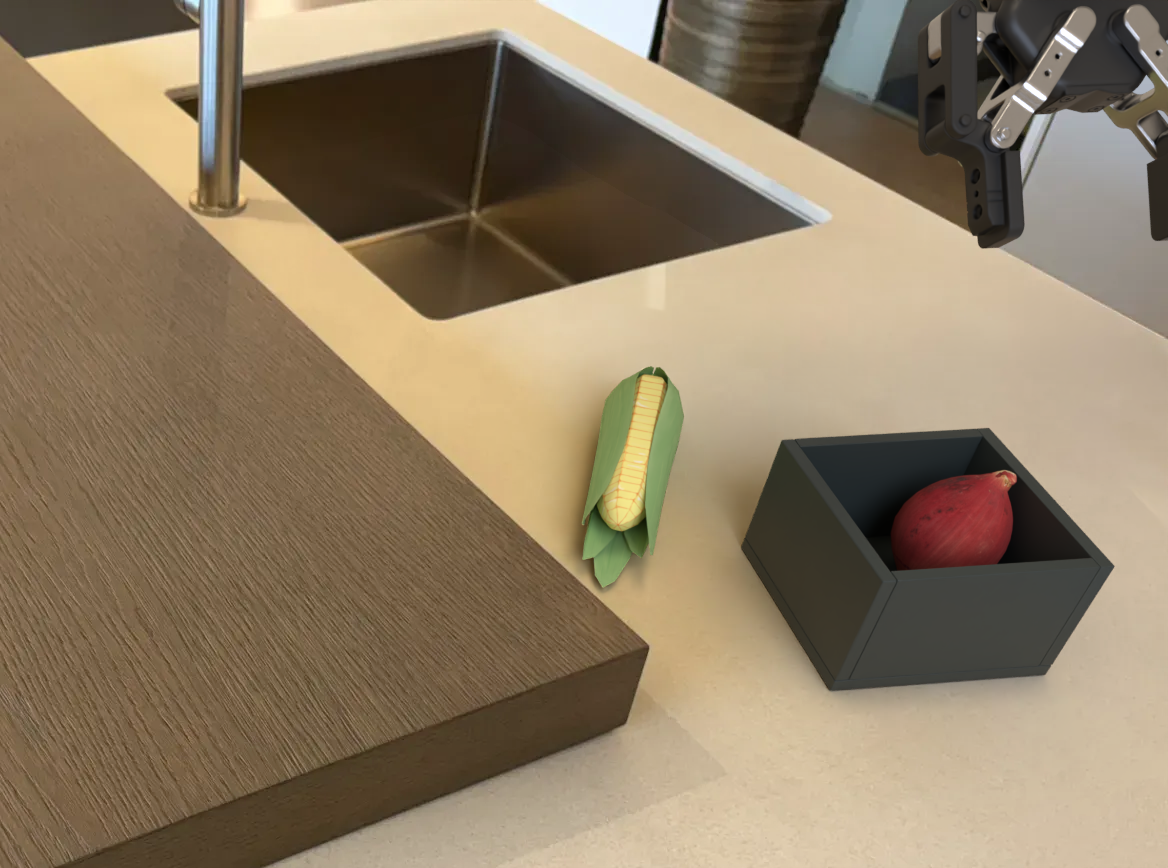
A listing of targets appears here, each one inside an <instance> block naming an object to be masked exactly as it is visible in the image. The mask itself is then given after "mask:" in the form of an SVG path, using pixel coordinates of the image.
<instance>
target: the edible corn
mask: <svg viewBox="0 0 1168 868" xmlns="http://www.w3.org/2000/svg"><path fill="white" fill-rule="evenodd" d="M684 419H685V415H684V410H683V404H682V399H681V394H680V390H679V389H678V388H677V387H676V385H675V384H674V383H673V382H672V380H671V379H670V377H669V376H668V374H667V373H666V371H665V370H664V369H663V368H662V367H660V366H656V367H653V365H650V366H647V367H645V368H642V369H641V370H639V371H638V372H635V373H633V374H632V375H630V376H628V377H626V378H624V379H622V380H621V381H620V382H619V383H618V384H617V385H616V386H615V387H614V388H613V390H612V391H610V393H609V395H608V396H607V397H606V399H605V401H604V406H603V409H602V414H601V419H600V427H599V432H598V433H599V434H598V440H597V446H596V451H595V457H594V462H593V466H592V472H591V478H590V481H589V487H588V492H587V496H586V502H585V506H584V511H583V516H582V519H581V525H582V526H585V524H586V519H587V517H588V516H589V517H588V521H587V525H586V531H585V536H584V541H583V550H582V558H581V559H582V561H584V560H585V561H586V560H588V559H592V558H593V567H594V576H595V577H596V579H597V581H598V582H599V584H600V585H601V587H602V588H605V587H607V586H609V585H611V584H612V583H614V582H616V581H617V579H618V578H619V576H620V575H621V573H622V572H623V570H624V569H625V567H626V566H627V564H628V563H629V561H630V559H631V557H632V555H633V554H635V555H636V556H638V557H639V558H641V559H642V558H643V557H644V555H645V552H646V550H647V548H648V547H649V555H650V556H654V554H655V553H654V552H655V548H656V542H657V536H658V531H659V526H660V520H661V514H662V509H663V505H664V501H665V497H666V492H667V487H668V484H669V478H670V475H671V472H672V469H673V468H672V467H673V464H674V460H675V457H676V455H677V450H678V447H679V442H680V438H681V434H682V429H683V424H684Z"/></svg>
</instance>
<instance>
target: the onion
mask: <svg viewBox="0 0 1168 868" xmlns="http://www.w3.org/2000/svg"><path fill="white" fill-rule="evenodd" d="M1016 482H1017V477H1016V474H1014V473H1012V472H1010V471H1007V470H1002V471H997V472H993V473H987V474H982V475H965V476H957V477H951V478H948V479H944V480H940V481H938V482H936V483H933V484H931V485H929V486H927V487H925V488H923V489H922V490H920V491H918V492H917V493H916V494H914V495H913V496H912V497H911V498H910V499H909V500H907V501H906V502H905V503H904V505H903V506H902V507H901V509H900V510H899V512H898V513H897V515H896V516H895V519H894V522H893V526H892V530H891V546H892V552H893V556H894V560H895V564H896V568H897V571H902V570H917V569H933V568H948V567H963V566H978V565H993V564H997V563H998V562H999V560H1000V559H1001V558H1002V556H1003V555H1004V553H1005V552H1006V549H1007V547H1008V544H1009V542H1010V538H1011V534H1012V527H1013V513H1012V507H1011V503H1010V500H1009V496H1008V490H1009V489H1010V488H1011V486H1012V485H1014V484H1015V483H1016Z"/></svg>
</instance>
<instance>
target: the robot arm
mask: <svg viewBox="0 0 1168 868" xmlns="http://www.w3.org/2000/svg"><path fill="white" fill-rule="evenodd" d="M978 3H979V5H980V6H981V8H982V10H983V11H978V9H977V7H976V4H975V3H974V2H973V1H972V0H955V1H954V2H952V3H951V4H950V5H949V6H948V7H947V8H945V9H944V10H942V12H941V13H939V14H938V15H937V16H936V17H934V18H933V19H932V20H931V21H930V22H928V23H926V25H924V26H923V27H922V28H921V29H920V30H919V32H918V34H917V126H918V127H917V129H918V130H917V132H918V133H917V139H918V140H917V141H918V148H919V150H920V152H921V153H922V154H923V155H924V156H926V157H936V156H938V155H939V154H940V155H943V156H946V157H949V158H952V159H954V160H956V161H957V164H958V165H959V166H960V167H961V168H963V171H964V183H965V184H964V185H965V200H966V212H967V214H966V215H967V227H968V229H969V231H970V233H971V235H972V237H977V245H978V247H979V248H980V249H984V250H985V249H999V248H1001V247H1003V246H1006V245H1007V244H1009V243H1011V242H1014V241H1015V240H1017V239H1019V238H1020V237H1021V236H1022V235H1023V233H1024V230H1025V209H1024V191H1023V177H1022V163H1021V162H1022V160H1021V159H1022V158H1021V150H1011V149H1010V148H1011V147H1012V146H1013V145H1014V144H1015V143H1016V141H1017V140H1018V138H1019V137H1020V135H1021V133H1022V132H1023V130H1024V129H1025V127H1026V125H1027V124H1028V122H1029V121H1030V119H1031V117H1032V116H1033V115H1034V116H1035V115H1037V116H1041V115H1052V114H1055V113H1058V112H1061V111H1064V110H1069V111H1073V112H1077V113H1081V114H1086V113H1091V114H1092V113H1099V112H1101V111H1103V112H1104V113H1105V114H1106V116H1107V117H1108V118H1109V120H1110V121H1111V122H1112V124H1114V126H1116V127H1117V128H1120V129H1126V130H1129V131H1130V132H1131V133H1132V134H1133V135H1134V136H1135V137H1136V139H1137V140H1138V141H1139V143H1140V144H1141V145H1142V146H1143V148H1144V149H1145V150H1146V151H1147V154H1149V156H1150V157H1151V158H1152V159H1153V160H1151V161H1150V162H1148V163H1146V174H1147V175H1146V178H1147V189H1148V190H1147V193H1148V207H1149V208H1148V210H1149V211H1148V212H1149V223H1150V227H1149V228H1150V236H1151V238H1152V240H1154V241H1155V242H1165V241H1166V242H1167V241H1168V122H1167V121H1166V120H1165V118H1164V117H1163V116H1162V114H1161V113H1160V112H1163V113H1164V114H1165V115H1166V116H1167V117H1168V0H978ZM982 51H983V53H984V54H985V56H987V58H988V59H989V61H990V62H991V64H993V66H994V67H995V69H996V70H997V71H998V72H999V74H1000V75H999V77H998V78H997V80H996V82H995V84H994V85H993V86H992V88H991V89H990V91H989V93H988V94H987V96H986V97H985V99H984V100H983V102H982V104H981V106H980V107H979V109H978V56H979V55H980V54H981V52H982ZM1146 76H1147V78H1148V79H1149V80H1150V81H1151V83H1152V85H1153V88H1151V89H1149V90H1148V91H1146V92H1144V93H1141V94H1140V93H1136V92H1135V91H1136V90H1137V89H1138V88H1139V87H1140V85H1142V83H1143V81H1144V80H1145V78H1146ZM1159 111H1160V112H1159Z"/></svg>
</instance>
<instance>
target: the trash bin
mask: <svg viewBox="0 0 1168 868" xmlns="http://www.w3.org/2000/svg"><path fill="white" fill-rule="evenodd" d="M1002 470H1007V471H1010V472H1012V473H1014V474H1016V477H1017V482H1016V483H1015V484H1014V485H1012V486H1011V488H1010V489H1009V490H1008V496H1009V500H1010V503H1011V507H1012V513H1013V527H1012V534H1011V538H1010V542H1009V544H1008V547H1007V549H1006V552H1005V553H1004V555H1003V556H1002V558H1001V559H1000V560H999V562H998V563H997V564H993V565H978V566H963V567H948V568H933V569H917V570H902V571H897V568H896V564H895V560H894V556H893V552H892V546H891V530H892V526H893V522H894V519H895V516H896V515H897V513H898V512H899V510H900V509H901V507H902V506H903V505H904V503H905V502H906V501H907V500H909V499H910V498H911V497H912V496H913V495H914V494H916V493H917V492H918V491H920V490H922V489H923V488H925V487H927V486H929V485H931V484H933V483H936V482H938V481H940V480H944V479H948V478H951V477H957V476H965V475H982V474H987V473H993V472H997V471H1002ZM740 547H741V550H742V551H743V553H744V554H745V556H746V557H747V559H748V561H749V562H750V564H751V566H752V568H753V569H754V570H755V572H756V574H757V575H758V577H759V579H760V580H761V583H762V584H763V585H764V587H765V588H766V590H767V592H768V594H769V595H770V597H771V598H772V599H773V601H774V603H775V605H776V606H777V608H778V609H779V611H780V613H781V614H782V616H783V618H784V619H785V620H786V622H787V624H788V626H789V627H790V629H791V630H792V632H793V633H794V635H795V637H796V638H797V640H798V642H799V643H800V645H801V647H802V648H803V650H804V651H805V653H806V654H807V656H808V658H809V659H810V661H811V662H812V664H813V665H814V667H815V669H816V671H817V673H818V674H819V676H820V677H821V679H822V681H823V682H824V684H825V685H826V687H827V689H828V690H829V691H830V692H835V691H836V692H837V691H848V690H849V691H850V690H851V691H852V690H863V689H877V688H889V687H890V688H891V687H903V686H916V685H929V684H943V683H956V682H957V683H958V682H969V681H984V680H985V681H986V680H998V679H999V680H1000V679H1009V678H1010V679H1011V678H1023V677H1025V678H1026V677H1036V676H1046V675H1047V673H1048V672H1049V670H1050V668H1051V667H1052V665H1053V664H1054V663H1055V661H1056V659H1057V658H1058V657H1059V655H1060V653H1061V652H1062V650H1063V649H1064V647H1065V646H1066V644H1067V642H1068V641H1069V640H1070V638H1071V636H1072V634H1073V633H1074V632H1075V630H1076V629H1077V626H1078V625H1079V623H1080V622H1081V621H1082V619H1083V617H1084V616H1085V614H1086V613H1087V611H1088V610H1089V608H1090V606H1091V605H1092V603H1093V602H1094V600H1095V598H1096V597H1097V596H1098V594H1099V592H1100V590H1101V589H1102V587H1103V586H1104V584H1105V582H1106V581H1107V580H1108V578H1109V576H1110V575H1111V574H1112V572H1113V570H1114V569H1115V567H1116V566H1115V564H1114V563H1113V562H1112V561H1111V560H1110V559H1109V558H1108V557H1107V556H1106V555H1105V554H1104V552H1103V551H1102V550H1101V549H1100V548H1099V547H1098V546H1097V545H1096V544H1095V542H1094V541H1092V539H1091V538H1090V537H1089V536H1088V535H1087V533H1086V532H1085V531H1084V530H1083V529H1082V528H1081V527H1080V526H1079V525H1078V524H1077V523H1076V522H1075V521H1074V520H1073V519H1072V517H1071V516H1070V515H1069V514H1068V513H1067V512H1066V510H1065V509H1063V507H1062V506H1061V505H1060V503H1058V502H1057V500H1056V499H1055V498H1054V497H1053V496H1052V495H1051V494H1050V493H1049V492H1048V491H1047V490H1046V489H1045V487H1043V485H1042V484H1041V483H1040V482H1039V481H1038V480H1037V479H1036V478H1035V477H1034V476H1033V474H1032V473H1031V472H1030V471H1029V469H1027V467H1026V466H1024V464H1023V463H1022V462H1021V461H1020V460H1019V459H1018V458H1017V456H1016V455H1015V454H1014V453H1013V452H1012V451H1011V450H1010V449H1009V448H1008V447H1007V446H1006V444H1005V443H1004V442H1003V441H1002V440H1001V439H1000V438H999V437H998V436H997V435H996V434H995V433H994V431H992V429H991V428H990V427H981V428H980V427H979V428H964V429H962V428H961V429H945V430H943V429H942V430H927V431H926V430H925V431H924V430H923V431H910V432H909V431H908V432H907V431H905V432H892V433H891V432H889V433H873V434H872V433H871V434H857V435H856V434H853V435H842V436H841V435H839V436H838V435H837V436H822V437H821V436H820V437H819V436H818V437H817V436H816V437H804V438H803V437H802V438H794V439H793V438H789V439H781V440H780V443H779V446H778V449H777V451H776V454H775V456H774V459H773V462H772V464H771V467H770V469H769V472H768V475H767V477H766V480H765V483H764V486H763V488H762V490H761V493H760V496H759V499H758V501H757V504H756V507H755V509H754V512H753V514H752V518H751V520H750V522H749V525H748V528H747V531H746V533H745V537H744V538H743V541H742V543H741V546H740Z"/></svg>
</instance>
